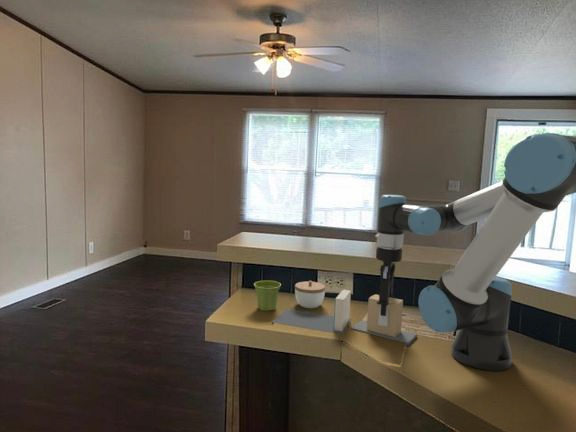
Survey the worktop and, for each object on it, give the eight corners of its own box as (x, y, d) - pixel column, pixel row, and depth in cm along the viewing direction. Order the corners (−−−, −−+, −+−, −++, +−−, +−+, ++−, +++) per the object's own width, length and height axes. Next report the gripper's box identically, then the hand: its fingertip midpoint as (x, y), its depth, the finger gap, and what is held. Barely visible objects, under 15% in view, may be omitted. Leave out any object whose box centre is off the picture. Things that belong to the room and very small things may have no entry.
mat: (352, 320, 147) (352, 318, 147) (343, 336, 134) (343, 334, 134) (286, 310, 155) (286, 308, 155) (271, 324, 142) (271, 322, 142)
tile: (349, 320, 145) (350, 290, 144) (342, 331, 136) (344, 299, 135) (340, 319, 146) (342, 289, 145) (333, 330, 137) (334, 298, 136)
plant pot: (249, 310, 153) (249, 286, 152) (258, 302, 162) (259, 279, 161) (275, 314, 150) (276, 289, 149) (283, 305, 159) (284, 282, 158)
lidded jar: (325, 312, 154) (326, 286, 153) (294, 311, 154) (295, 284, 153) (323, 302, 165) (324, 277, 163) (294, 301, 165) (295, 276, 163)
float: (416, 337, 136) (419, 301, 134) (408, 345, 129) (411, 309, 127) (361, 323, 145) (363, 290, 144) (351, 330, 139) (353, 296, 137)
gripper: (381, 240, 143) (376, 309, 147) (371, 251, 126) (366, 330, 129) (405, 242, 141) (400, 313, 144) (398, 254, 123) (393, 334, 127)
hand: (384, 321), depth 137 cm, fingers closed on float, 6 cm apart
